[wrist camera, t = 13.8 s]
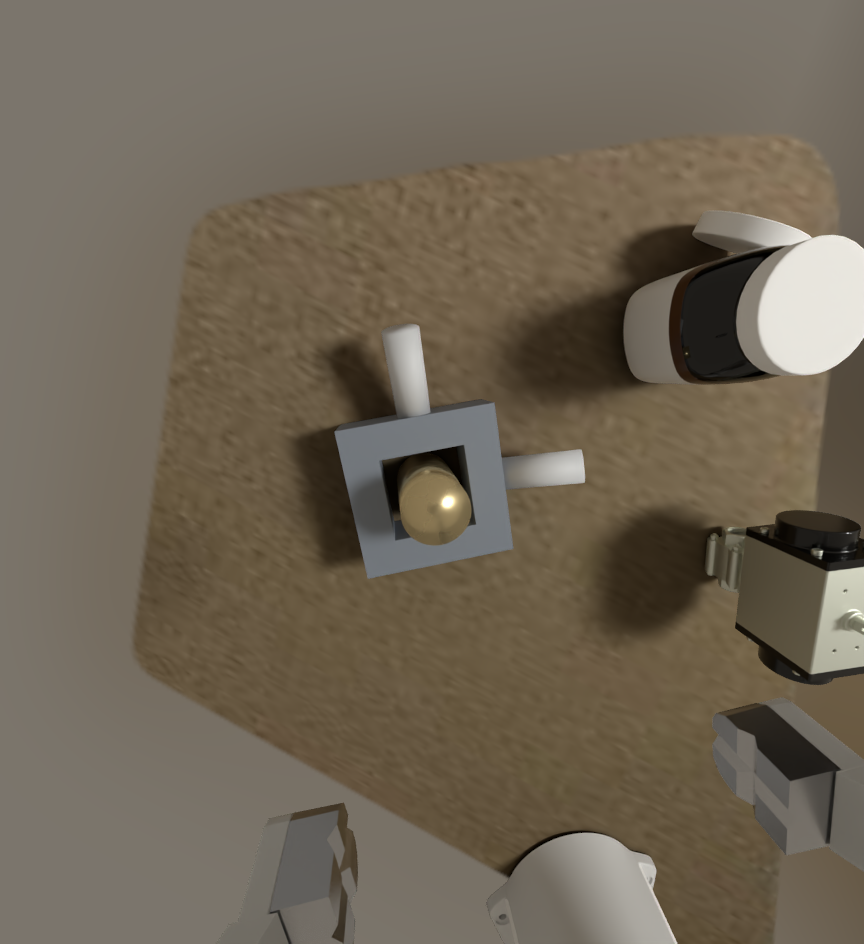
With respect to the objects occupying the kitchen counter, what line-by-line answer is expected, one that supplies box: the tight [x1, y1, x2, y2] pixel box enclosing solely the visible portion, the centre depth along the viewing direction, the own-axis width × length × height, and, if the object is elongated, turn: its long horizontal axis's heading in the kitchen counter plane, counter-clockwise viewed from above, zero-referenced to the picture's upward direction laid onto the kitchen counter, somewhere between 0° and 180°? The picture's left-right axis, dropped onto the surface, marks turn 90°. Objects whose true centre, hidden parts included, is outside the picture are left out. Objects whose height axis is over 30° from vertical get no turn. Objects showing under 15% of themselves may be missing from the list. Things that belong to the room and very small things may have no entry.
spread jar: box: [623, 210, 864, 385], centre depth 26 cm, size 12×11×12 cm
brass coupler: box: [397, 453, 471, 546], centre depth 29 cm, size 4×4×8 cm
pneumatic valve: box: [705, 510, 864, 685], centre depth 32 cm, size 6×12×12 cm, turn 4°
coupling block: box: [334, 324, 585, 579], centre depth 30 cm, size 17×17×6 cm
